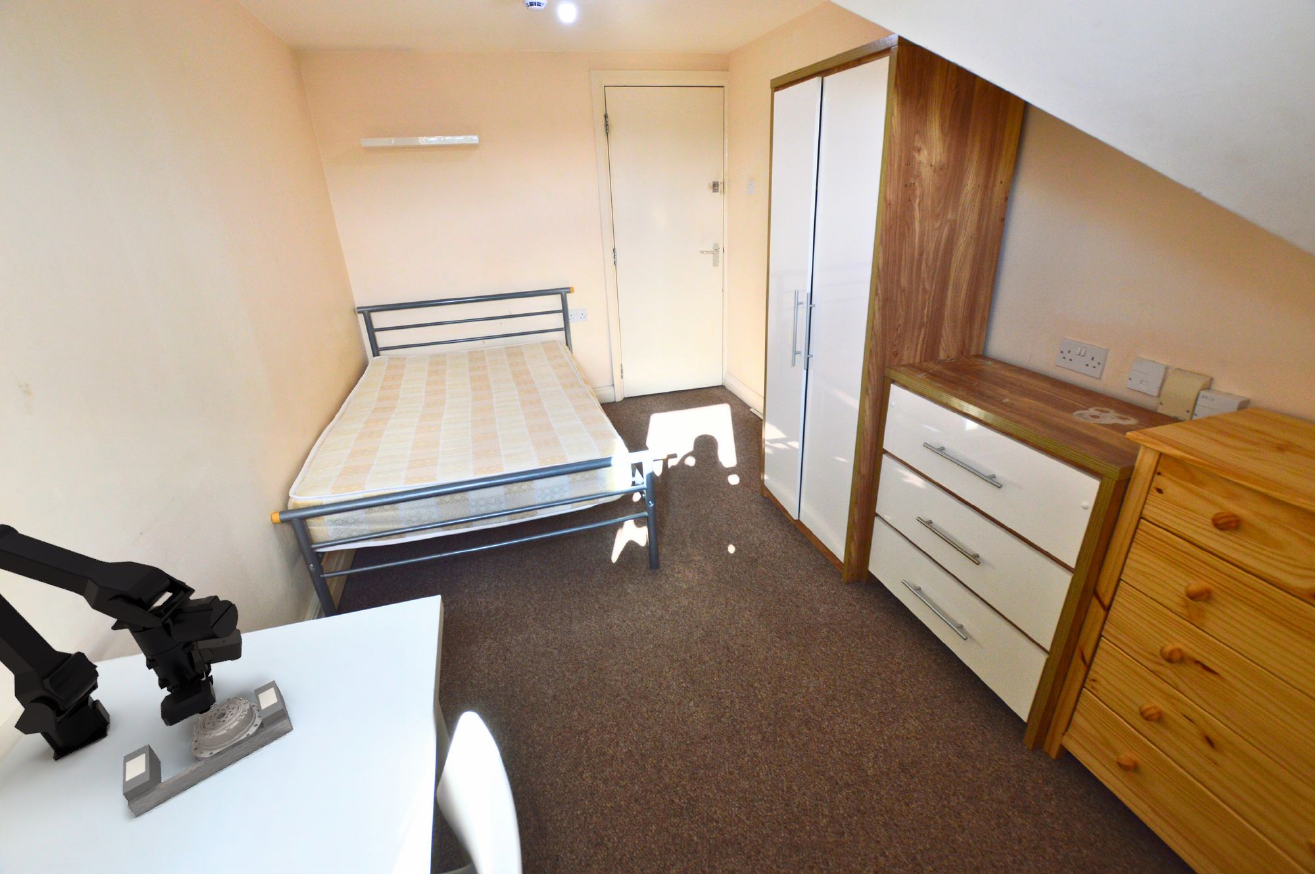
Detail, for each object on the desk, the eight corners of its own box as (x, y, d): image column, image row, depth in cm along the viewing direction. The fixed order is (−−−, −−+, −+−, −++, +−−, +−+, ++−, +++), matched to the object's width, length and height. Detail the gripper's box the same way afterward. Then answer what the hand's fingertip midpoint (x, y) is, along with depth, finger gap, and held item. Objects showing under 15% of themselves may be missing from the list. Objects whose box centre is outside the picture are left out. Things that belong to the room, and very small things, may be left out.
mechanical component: (179, 767, 88) (244, 758, 88) (166, 747, 86) (233, 739, 86) (220, 712, 97) (279, 704, 97) (209, 693, 95) (269, 686, 96)
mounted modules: (135, 811, 82) (121, 793, 80) (136, 773, 87) (123, 755, 86) (291, 725, 93) (282, 707, 91) (282, 696, 99) (273, 678, 97)
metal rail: (135, 817, 81) (127, 805, 80) (135, 811, 82) (127, 800, 81) (292, 729, 92) (287, 718, 91) (291, 725, 93) (286, 714, 92)
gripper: (233, 645, 87) (271, 717, 93) (221, 589, 100) (255, 655, 106) (140, 687, 80) (188, 761, 87) (141, 622, 94) (182, 690, 100)
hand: (207, 712), depth 95 cm, fingers closed
